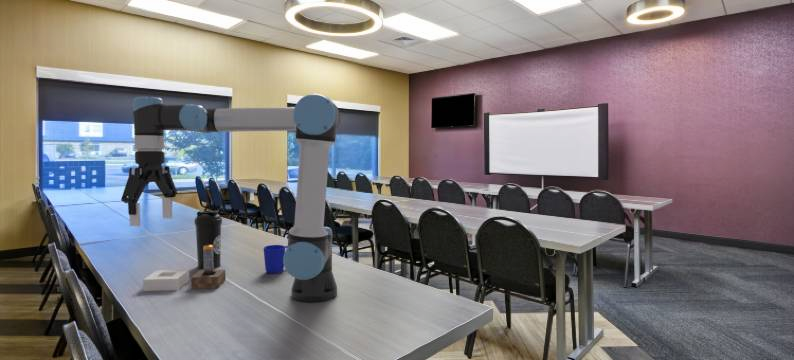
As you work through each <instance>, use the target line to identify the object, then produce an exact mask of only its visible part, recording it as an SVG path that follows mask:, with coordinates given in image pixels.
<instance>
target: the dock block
mask: <svg viewBox="0 0 794 360" xmlns="http://www.w3.org/2000/svg"><path fill="white" fill-rule="evenodd" d="M189 281H190V269H158V270H155V271H153V272H152V273H151V274H150V275H148V276H146V277H145V278H143V279H142V284H143V285H142V286H143V287H142V288H143V292H150V291H151V292H156V291H158V292H159V291H178V290H180V289H181V288H182V287H183V286H185V285H186V284H187V283H188V282H189Z"/></svg>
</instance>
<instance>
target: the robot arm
mask: <svg viewBox="0 0 794 360" xmlns="http://www.w3.org/2000/svg"><path fill="white" fill-rule="evenodd" d="M163 102H164V101H163V99H162V98H161V97H155V96H137V97H135V98H133V103H132V104H133V106H132V108H133V109H132V116H133V130H134V131H133V132H134V133H133V134H134V149H135V150H137V151H135V152H134V162H135V164H137V165H138V167H129V169H128V178H127V181H126V183H125V187H124V189H123V193H122V196H121V199H120V200H121V202H123V203H124V204H127V209H128V210H127V211H128V212H127V213H128V215H129V227H141V225H142V224H141V202H139V200H140V198H141V196H142V194H143V192H144V191H145V188H146V186H147V185H149V184H150V183H154V184H155V185H156V186H157V187H158V189H159V191H160V192H161V194H162V195H163V197H161V201H162V219H173V198H176V196H177V194H178V190H177V188H176V185H175V183H174V180H173V178H172V174H171V170H170V169H171V168H170V166H169V165H163V164H164V163H165V160H166V159H165V152H164V151H163V150H164V149H165V131H181V132H183V131H184V132H185V131H186V132H194V133H195V132H196V133H197V132H198V133H201V134H202V133H203V134H204V133H205V134H210V133H220V132H221V133H222V132H223V133H226V132H227V133H229V132H230V133H231V132H234V133H235V132H281V131H282V132H285V131H286V132H288V131H289V132H294V131H295V135H294V136H295V138H294V139H295V141H296V142H297V143H298V145H299V157H298V158H299V159H298V168H297V169H298V170H297V184H296V185H297V186H296V187H297V188H296V198H295V210H294V211H295V213H294V223H293V224H294V225H293V226H292V227H291V228H290V229H289V230H288V237H287V246H288V248H285V254H284V258H283V263H284V270H285V271H286V273H288V274H289V275H290V276H291V277H293V278H294V280H293V284H292V286H291V292H290V293H291V294H290V296H291V298H292V299H293V300H296V301H298V302H304V303H305V302H307V303H318V302H319V303H320V302H324V301H329V300H332V299H333V298H335V297H336V296H337V294H338V286H337V282H336V280H335V277H334V274H333V273H334V272H333V231H332V228H331V227H328V226H324V223H325V213H326V212H325V210H326V201H327V200H326V199H327V197H326V196H327V185H328V174H329V173H328V172H329V160H330V148H331V147H333V145H335V143H336V135H337V134H336V133H337V129H338V128H339V125H340V123H341V112H340V109H339V108H338V106H337V105H336V103H334V102H333V100H331V99H330V98H329V97H328V96H326V95H323V94H319V93H310V94H306V95H304V96H303V97H301V98H300V99H299V100H298V101H297V102H296V104H295V105H294V106H290V107H286V106H284V107H282V106H281V107H280V106H279V107H243V108H242V107H237V108H234V107H233V108H232V107H230V108H204V107H203V106H202V105H199V104H191V103H188V104H166V103H165V104H164V103H163Z"/></svg>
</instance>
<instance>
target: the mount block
mask: <svg viewBox="0 0 794 360" xmlns="http://www.w3.org/2000/svg"><path fill="white" fill-rule="evenodd" d="M225 281H226V269H214V275H204V269H199V270H198V271H196V273H194V275H192V276H191V277H190V287H191V288H190V289H191V290H195V289H196V290H198V289H219V288H220V287H221V286H222V285H223V284H224V282H225Z"/></svg>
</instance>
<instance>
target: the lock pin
mask: <svg viewBox="0 0 794 360" xmlns="http://www.w3.org/2000/svg"><path fill="white" fill-rule="evenodd" d="M203 254H204V269H203V270H204V275H214V270H215V268H214V263H213V245H204V246H203Z"/></svg>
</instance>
